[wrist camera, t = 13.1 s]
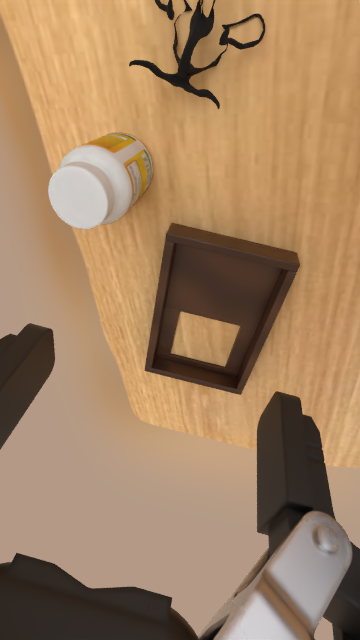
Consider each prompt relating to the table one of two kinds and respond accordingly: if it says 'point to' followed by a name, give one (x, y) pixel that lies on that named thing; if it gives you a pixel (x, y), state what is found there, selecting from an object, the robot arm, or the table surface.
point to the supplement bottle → (100, 180)
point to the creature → (198, 30)
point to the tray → (217, 301)
